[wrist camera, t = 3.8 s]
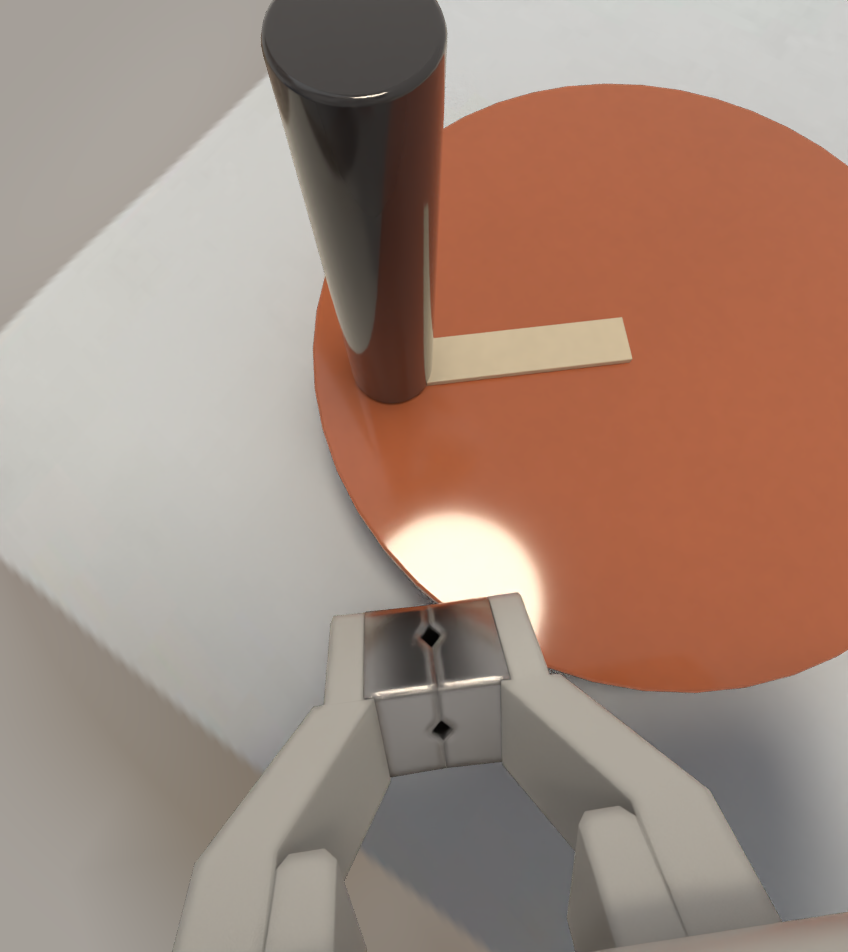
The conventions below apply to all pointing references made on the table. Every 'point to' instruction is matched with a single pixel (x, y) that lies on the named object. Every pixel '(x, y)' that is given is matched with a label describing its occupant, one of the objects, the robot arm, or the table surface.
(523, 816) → the table surface
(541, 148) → the orange turntable with peg
